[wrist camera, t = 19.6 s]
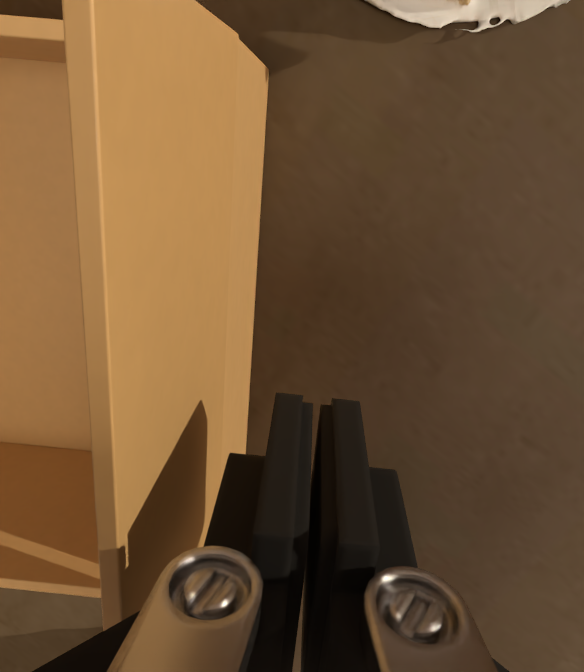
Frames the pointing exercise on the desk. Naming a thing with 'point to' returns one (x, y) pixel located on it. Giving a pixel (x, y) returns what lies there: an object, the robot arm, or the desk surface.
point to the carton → (66, 311)
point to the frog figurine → (464, 10)
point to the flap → (151, 272)
